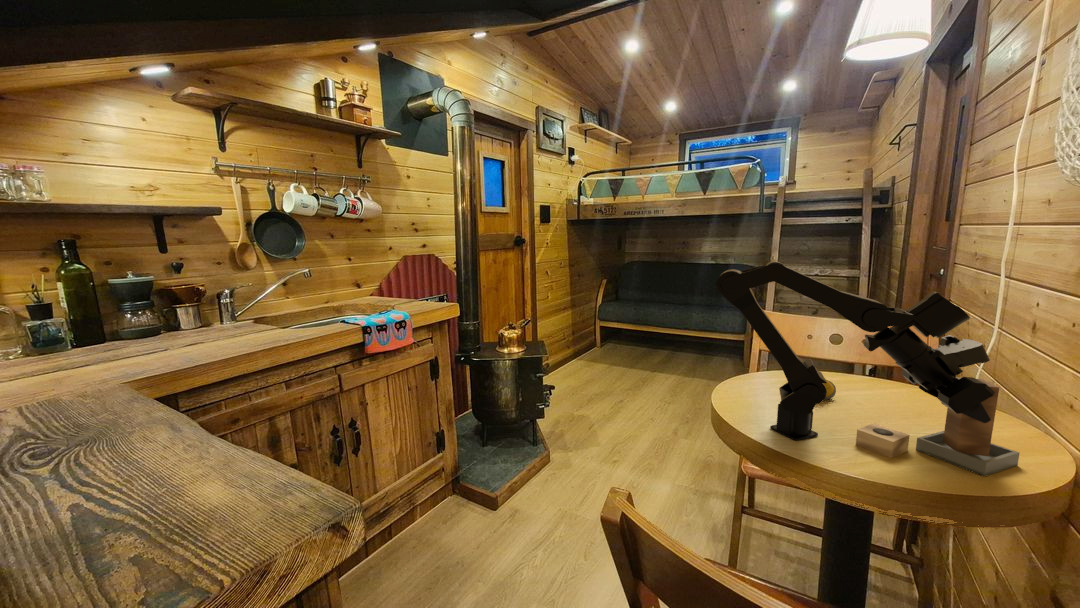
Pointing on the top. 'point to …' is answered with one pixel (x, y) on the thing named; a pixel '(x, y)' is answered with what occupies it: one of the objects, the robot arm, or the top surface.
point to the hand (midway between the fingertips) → (979, 416)
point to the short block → (882, 440)
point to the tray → (968, 455)
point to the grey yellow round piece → (829, 389)
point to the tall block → (971, 428)
